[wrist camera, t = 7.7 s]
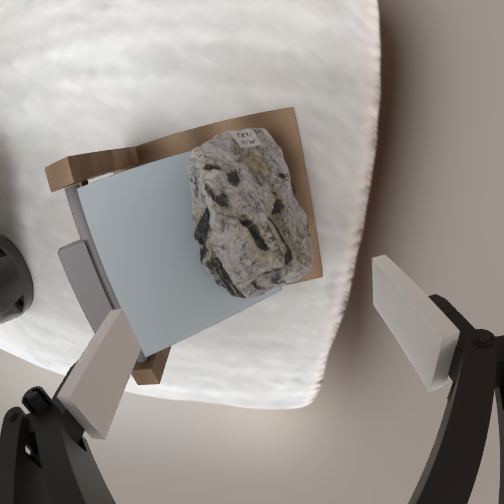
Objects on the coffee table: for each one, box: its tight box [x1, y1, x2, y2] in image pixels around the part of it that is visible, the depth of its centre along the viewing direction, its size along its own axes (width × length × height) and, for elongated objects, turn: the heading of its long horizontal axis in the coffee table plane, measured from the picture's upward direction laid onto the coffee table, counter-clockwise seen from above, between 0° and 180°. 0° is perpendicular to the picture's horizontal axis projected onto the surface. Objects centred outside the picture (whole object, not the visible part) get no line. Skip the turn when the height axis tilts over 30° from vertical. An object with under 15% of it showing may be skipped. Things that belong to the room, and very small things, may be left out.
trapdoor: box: [58, 151, 282, 363], centre depth 25 cm, size 19×17×2 cm
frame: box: [45, 107, 323, 385], centre depth 28 cm, size 22×21×15 cm
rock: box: [187, 128, 314, 299], centre depth 24 cm, size 15×10×7 cm
